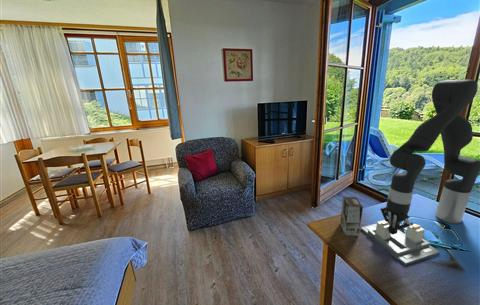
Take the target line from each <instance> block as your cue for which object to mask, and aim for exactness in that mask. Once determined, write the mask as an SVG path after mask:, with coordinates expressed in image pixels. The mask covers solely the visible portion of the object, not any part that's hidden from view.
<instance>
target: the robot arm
mask: <svg viewBox="0 0 480 305" xmlns="http://www.w3.org/2000/svg"><path fill="white" fill-rule="evenodd" d="M478 89H479V87H478V82H477V81H476V80H475V79H474V80H473V79H450V80H449V79H447V80H441V81H438V82H437V83H436V84H435V85H434V86H433V88H432V91H431V99H432V100H431V101H432V104H433V106H434V110H435V113H436V115H434V116H432V117H430V118H429V119H427V120H425V121H423V122H422V123H420V124H419V125H418V127H416V129H415V130H414V131H413V133H412V134H411V136H410V137H409V138H408V140H407V141H405V142H404V143H403V144H402V145H400V146H399V147H398V148H397V149H395V151H394V152H392V154H391V155H390V157H389V163H390V165H391V166H392V167H393V168H396V169H399V170H402V171H405V172H406V173H401V172H400V173H398V172H397V173H394V174H393V175H392V178H391V184H390V187H389V190H388V195H387V200H386V206H383V207H380V213H382V216H383V219H384V220H385V221H386V222H388V223H389V229H388V230H389V233H391V234H392V235H393V234H397V231H398V230H399V229H403V228H407V227H409V226H412V225H413V224H414V223H413V221H411V222H410V221H409V216H408V213H409V212H410V209H411V203H412V199H413V191H414V187H415V182H416V181H417V179H418V177H419V175H420V174H421V173H422V172H423V170H424V168H425V166H426V159H425V157H424V156H423V155H421V154H417V153H416V152H423V153H424V152H428V151H429V150H430V149H431V148H432V146H433V145H434V144H435V143H436V141H437V140H438V138H439V136H441V141H442V147H443V159H444V160H443V161H444V162H443V165H444V170H445V172H447V173H449V174H451V175H454V176H458V177H461V178H462V179H458V178H457V179H456V178H455V179H453V178H451V179H447V180H445V182H444V184H443V188H442V191H441V195H440V198H439V201H438V205H437V209H436V212H435V216H436V218H438V219H440V220H441V221H444V222H446V223H449V224H456V225H457V224H461V222H462V220H463V218H464V215H465V210H466V208H467V205H468V202H469V200H470V196H471V193H472V190H473V188H474V186H475V184H476V180H477V179H478V176H479V174H480V159H477V158H472V157H468V156H462V155H460V154H459V152H460V151H461V150H462V149H464V148H465V147H467V146H468V145H469V144H470V143H471V142H472V141H473V138H474V137H473V134H474V132H473V126H472V124H471V122H470V121H469V120H468V119H467V118H466V117H464V116H463V115H462V114H461V112H463V111H464V110H465V109H466V108H467V106H468V105H470V103H471V102H472V101H473V100H474V99H475V97H476V95H477V92H478ZM402 222H403V223H402ZM401 223H402V224H401ZM400 224H401V225H400Z"/></svg>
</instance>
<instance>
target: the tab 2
mask: <svg viewBox="0 0 480 305" xmlns="http://www.w3.org/2000/svg"><path fill="white" fill-rule="evenodd" d="M406 228H407V232H406V236H405V237H406V238H407V239H409V240H410V241H412V242H413V243H415V244H418V243H421V242H422V238H423V239H424V233H425V230H426V229H425V228H423V227H421V225H420V224H416V223H413V225H412V226H409V227H406Z"/></svg>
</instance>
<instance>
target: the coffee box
mask: <svg viewBox="0 0 480 305" xmlns="http://www.w3.org/2000/svg"><path fill="white" fill-rule="evenodd" d="M363 208H364V206H363V205H362V203H361V202H360V201H359V199H358V197H356V196H342V203H341V213H340V221H339V222H340V223H339V224H340V225H341V229H342V230H343V234H344V235H345V236H354V237H356V236H357V237H359V235H360V231H361V221H362V216H363V215H362V214H363Z"/></svg>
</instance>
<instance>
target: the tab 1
mask: <svg viewBox="0 0 480 305" xmlns="http://www.w3.org/2000/svg"><path fill="white" fill-rule="evenodd" d="M376 224H377V226H376V232H375V233H376V234H377V235H378V236H380V237H381V238H382V239H383V240H386V239H389V238H390V235H391V233H389V230H388V229H389V223H388V222H386V221H385V219H384V220H379V221H376Z"/></svg>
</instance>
